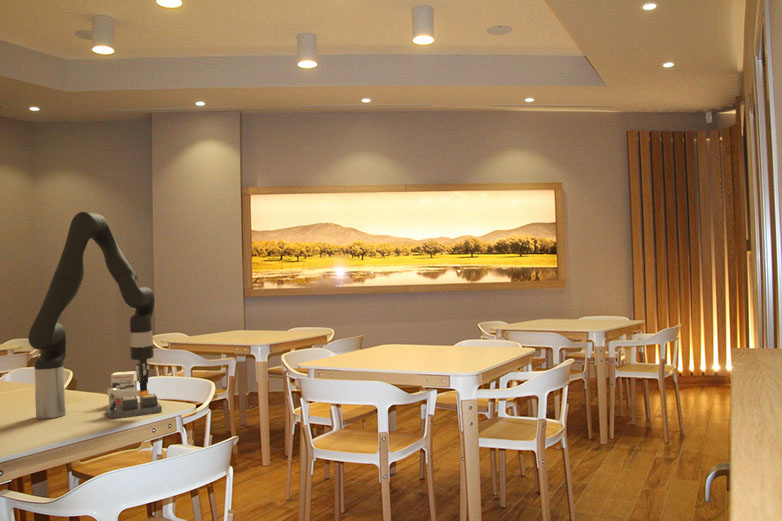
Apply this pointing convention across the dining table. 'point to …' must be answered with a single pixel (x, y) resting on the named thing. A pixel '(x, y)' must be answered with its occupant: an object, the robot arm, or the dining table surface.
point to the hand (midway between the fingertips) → (143, 394)
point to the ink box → (123, 383)
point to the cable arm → (127, 392)
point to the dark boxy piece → (133, 406)
